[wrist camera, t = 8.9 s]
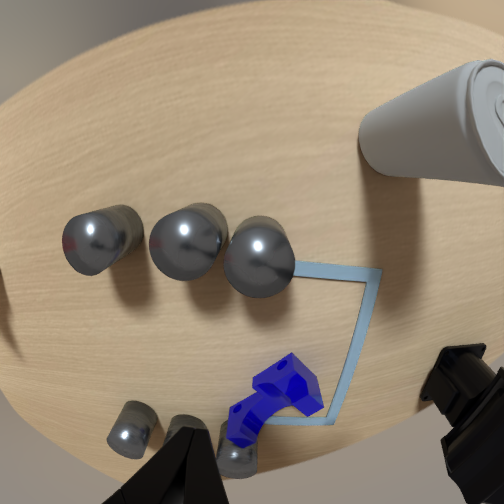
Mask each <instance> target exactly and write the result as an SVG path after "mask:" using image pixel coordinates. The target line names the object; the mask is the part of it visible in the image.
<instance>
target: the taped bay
mask: <svg viewBox="0 0 504 504" xmlns="http://www.w3.org/2000/svg"><path fill="white" fill-rule="evenodd" d="M381 275H382V269H377V268H366V267H356V266H345V265H335V264H325V263H314V262H304V261H295V271H294V276H305V277H316V278H327V279H339V280H351V281H363V282H366V286H365V291H364V295H363V299H362V303H361V308H360V311H359V315H358V319H357V323H356V327H355V330H354V334H353V338H352V341H351V345H350V348H349V351H348V355H347V358H346V361H345V364H344V368H343V371H342V374H341V377H340V380H339V383H338V386H337V389H336V391H335V394H334V397H333V400H332V403H331V405H330V408H329V411H328V414H327V416H326V417H276V416H270V417H269V418H268V419H267V420H266V421H265V423H264V424H273V425H334V423H335V420H336V418H337V416H338V413H339V411H340V408H341V406H342V403H343V401H344V398H345V395H346V393H347V390H348V387H349V385H350V382H351V379H352V376H353V373H354V370H355V368H356V365H357V362H358V359H359V355H360V352H361V349H362V346H363V343H364V340H365V336H366V333H367V329H368V326H369V322H370V319H371V315H372V311H373V308H374V304H375V300H376V296H377V292H378V288H379V284H380V279H381Z"/></svg>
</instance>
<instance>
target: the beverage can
mask: <svg viewBox="0 0 504 504" xmlns="http://www.w3.org/2000/svg"><path fill="white" fill-rule="evenodd" d="M359 143H360V147H361V150H362V153H363V155H364V158H365V159H366V161H367V162H368V164H369V165H370V166H371V167H372V168H373V169H375V170H376V171H377V172H379V173H381V174H383V175H386V176H393V177H411V178H426V179H439V180H450V181H460V182H469V183H478V184H486V185H494V186H501V187H504V63H502V62H501V61H497V60H493V59H488V60H484V61H481V60H477V61H473V62H469V63H466V64H464V65H462V66H459V67H457V68H455V69H453V70H451V71H449V72H446V73H444V74H442V75H440V76H438V77H436V78H434V79H432V80H430V81H428V82H426V83H424V84H422V85H420V86H418V87H416V88H414V89H412V90H410V91H408V92H406V93H404V94H402V95H400V96H398V97H396V98H394V99H392V100H390V101H389V102H387V103H385V104H383V105H381V106H379V107H377V108H375V109H374V110H372V111H370V112H369V113H368V114H367V115H366V116H365V117H364V118H363V120H362V122H361V124H360V128H359Z"/></svg>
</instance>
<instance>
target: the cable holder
mask: <svg viewBox="0 0 504 504" xmlns="http://www.w3.org/2000/svg"><path fill="white" fill-rule="evenodd" d="M252 388H253V389H255V390H256V391H257V392H256V393H254V394H253V395H251V396H249V397H247V398H246V399H244V400H242V401H240V402H238V403H237V404H235V405H233V406H231V407H230V410H229V418H228V426H227V434H226V438H227V439H229V440H230V441H232V442H233V443H235V444H236V445H238V446H239V447H241V448H245V447H247V446H250V445H252V444H254V443H256V441H257V436H258V433H259V431H260V429H261V427H262V426H263V424H264V423H265V421H266V420H267V419H268V418H269V417H270V416H271V415H272V414H274V413H275V412H277V411H278V410H280V409H282V408H284V407H287V406H294V407H296V408H297V409H298V410H299V411H301V412H302V413H303V414H304V415H306V416H307V417H308V416H310V415H312V414H313V413H315V412H317V411H319V410H320V409H322V408H324V405H323V401H322V397H321V393H320V388H319V384H318V380H317V377H316V376H315V375H314V374H313V373H312V372H311V371H310V370H309V369H308V368H307V367H306V366H305V365H304V364H303V363H302V362H301V361H300V360H299V359H298V358H297V357H296V356H295V355H294V354H293V353H292V352H291V353H290V354H288V355H287V356H285V357H284V358H282V359H281V360H279V361H278V362H276V363H275V364H273V365H272V366H270V367H269V368H267V369H266V370H264V371H262V372H261V373H259V374H258V375H256V376H254V377H253V383H252Z"/></svg>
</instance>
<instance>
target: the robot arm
mask: <svg viewBox="0 0 504 504" xmlns="http://www.w3.org/2000/svg"><path fill="white" fill-rule="evenodd" d="M485 350H486V345H485V344H484V343H480V344H470V345H459V346H447V347H445V348H443V350H442V351H441V354H440V356H439V358H438V361H437V363H436V365H435V367H434V370H433V372H432V374H431V376H430V378H429V380H428V382H427V384H426V386H425V388H424V390H423V392H422V394H421V396H420V398H421V400H422V401H429V400H433V401H434V403H435V405H436V406H437V407H438V409H439V411H440V412H441V414H442V415H445V416H446V418H447V420H448V421H449V423H450V425H451V426H452V427H454V428H453V429H452V430H451V431H450V432H449V433H448V434H447V435H446V436H444V437H443V438H442V439H441V445H442V449H443V453H444V457H445V463H446V468H447V472H448V476H449V477H450V478H451V479H452V480H453V481H454V482H455V483H456V484H457V485H458V487H459V488H460V490H461V492H462V494H463V497H464V499H465V501H466V503H467V504H481V503H485V504H504V368H503V367H500V369H499V370H498V373H497V375H496V374H495V373H494V372H493V371H492V370H491V368H490V367H489V366H488V365H487V364H486V363H485V362H484V361H483V360H482V356H483V354H484V352H485ZM102 504H229V502H228V498H227V495H226V492H225V489H224V486H223V482H222V479H221V475H220V472H219V468H218V465H217V461H216V458H215V454H214V450H213V446H212V443H211V439H210V435H209V431H208V429H205V428H196V429H195V428H194V427H190V426H182V427H181V428H180V429H179V430H178V431H177V432H176V433H175V434H174V435H173V436H172V437H171V438H170V439H169V440H168V441H167V442H166V443H165V444H164V446H163V447H162V448H161V449H160V450H159V451H158V452H157V453H156V454H155V455H154V456H153V457H152V458H151V459H150V460H149V461H148V462H147V463H146V464H145V465H144V466H142V467H141V468H140V469H139V470H138V471H137V472H136V473H135V474H134V475H133V476H132V477H131V478H130V479H129V480H128V481H127V482H126V483H125V484H124V485H123V486H122V487H121V489H118V490H117V491H116V492H115V493H114V494H113V495H112V496H110V497H109V498H108V499H107V500H106V501H104V502H103V503H102Z"/></svg>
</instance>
